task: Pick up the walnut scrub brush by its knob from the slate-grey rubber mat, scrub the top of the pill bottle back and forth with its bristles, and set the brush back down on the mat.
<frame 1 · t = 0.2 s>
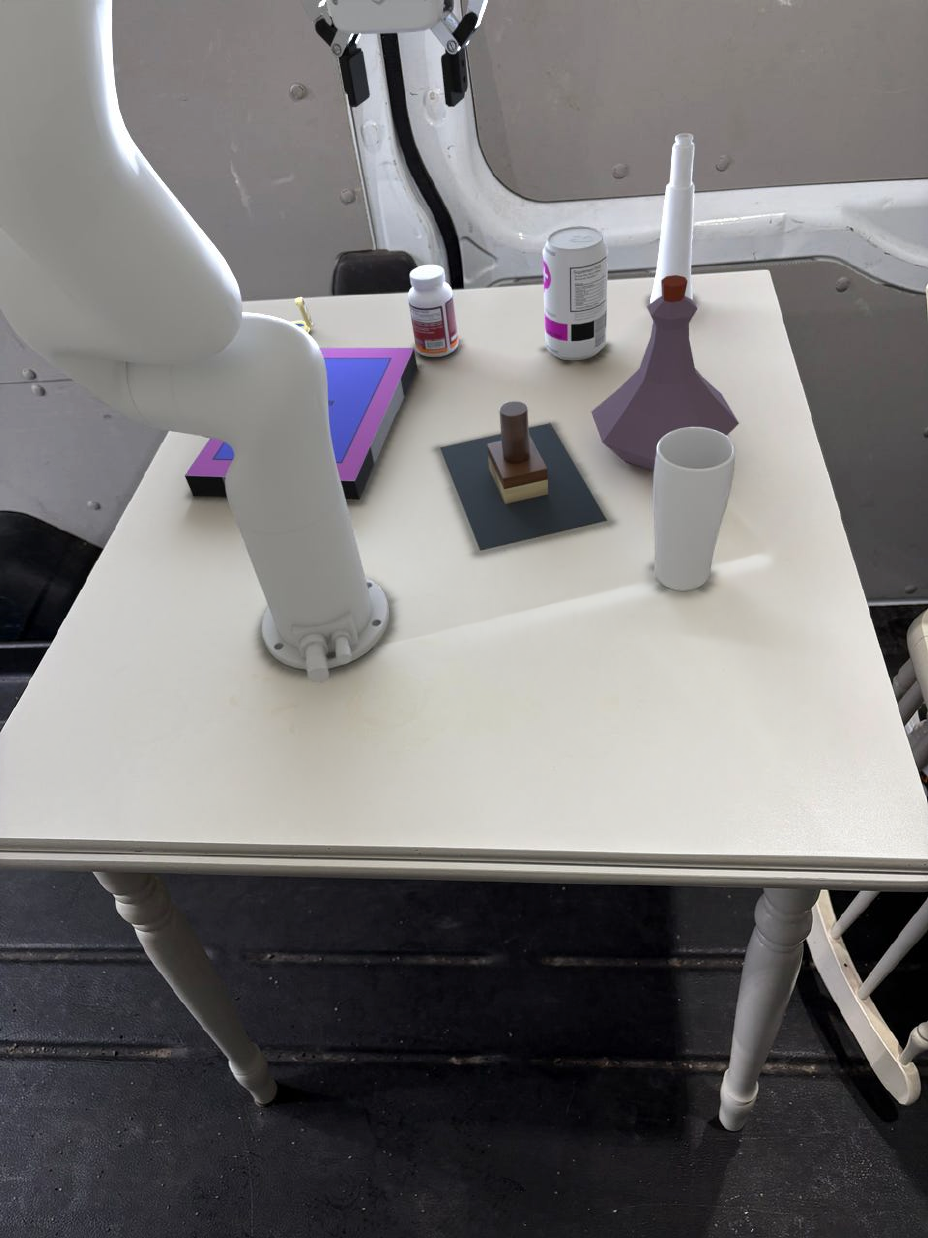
hand: (407, 102, 77), 37 cm above the table, tool pointing down, fingers open, 9 cm apart
cosmetic bottle: (671, 303, 122), on the table
mat: (518, 484, 95), on the table
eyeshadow: (297, 332, 128), on the table
pill bottle: (437, 349, 120), on the table
drinking glass: (680, 576, 83), on the table
brush: (518, 481, 95), resting on mat
supplement can: (575, 348, 116), on the table
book: (313, 428, 108), on the table
flask: (660, 450, 97), on the table
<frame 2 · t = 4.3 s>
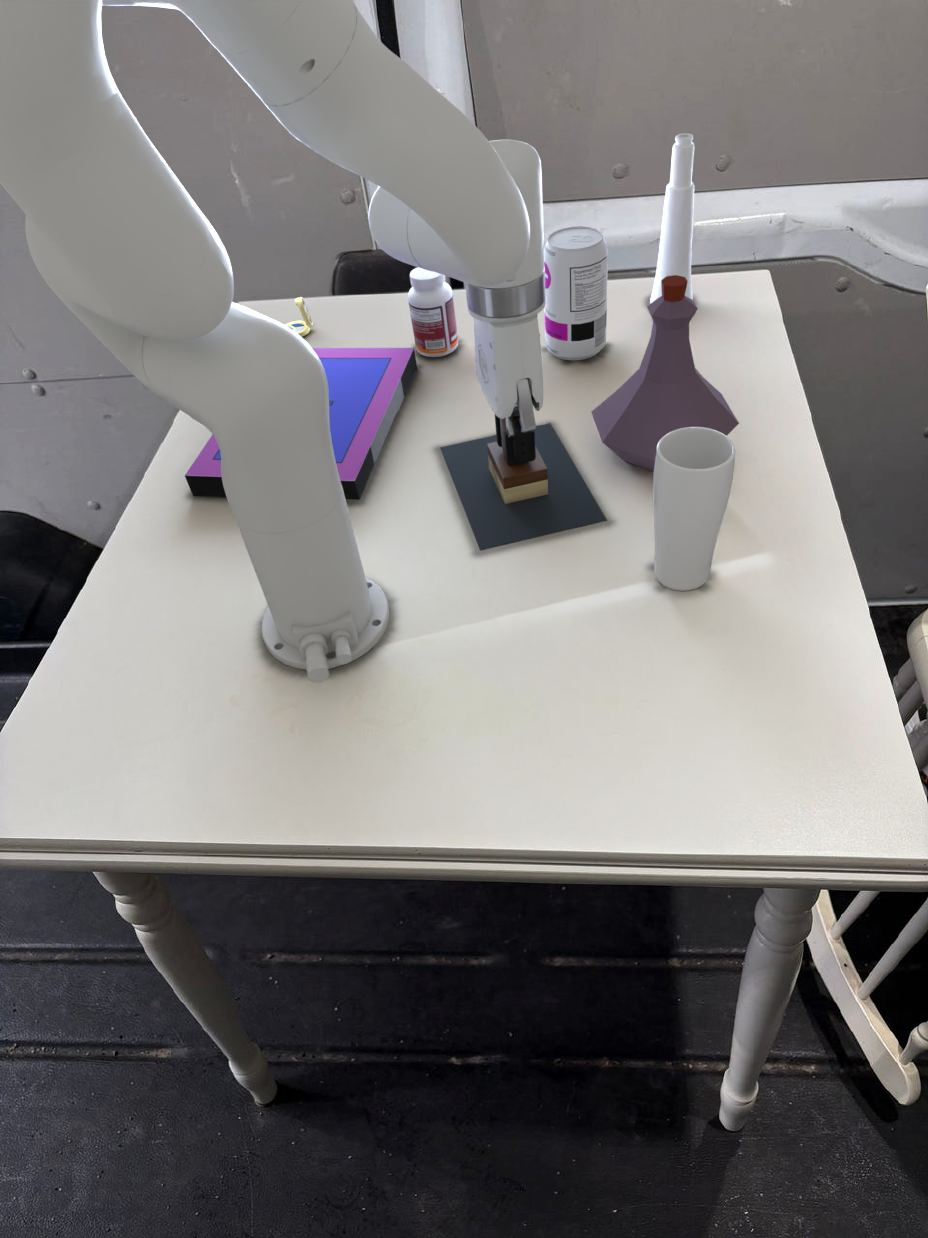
hand: (516, 451, 92), 5 cm above the table, tool pointing down, fingers closed on brush, 3 cm apart
brush: (518, 481, 95), resting on mat, touching gripper
everything else where it was.
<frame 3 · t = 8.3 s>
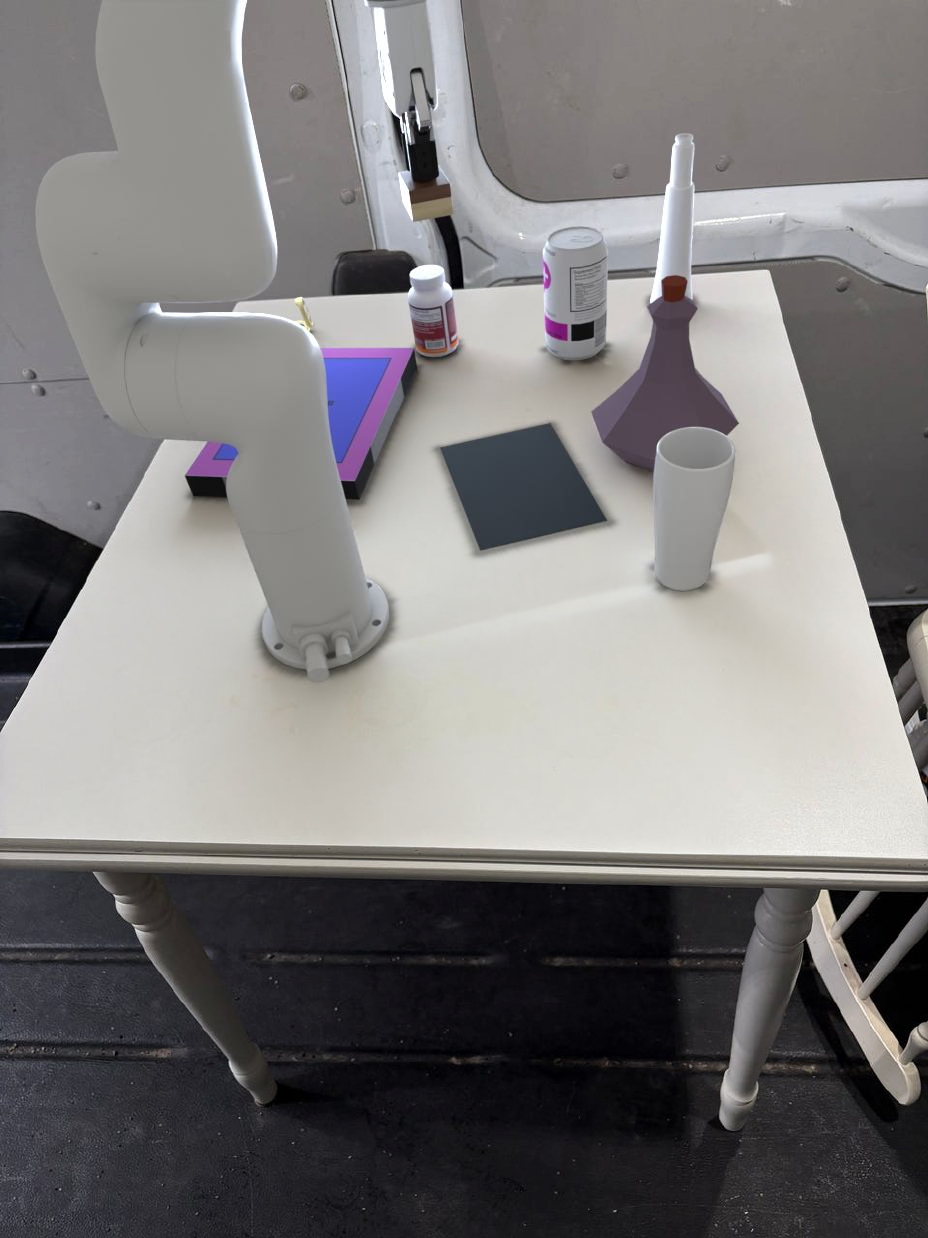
hand: (422, 172, 99), 25 cm above the table, tool pointing down, fingers closed on brush, 3 cm apart
brush: (427, 207, 102), point 21 cm above the table, touching gripper
everything else where it was.
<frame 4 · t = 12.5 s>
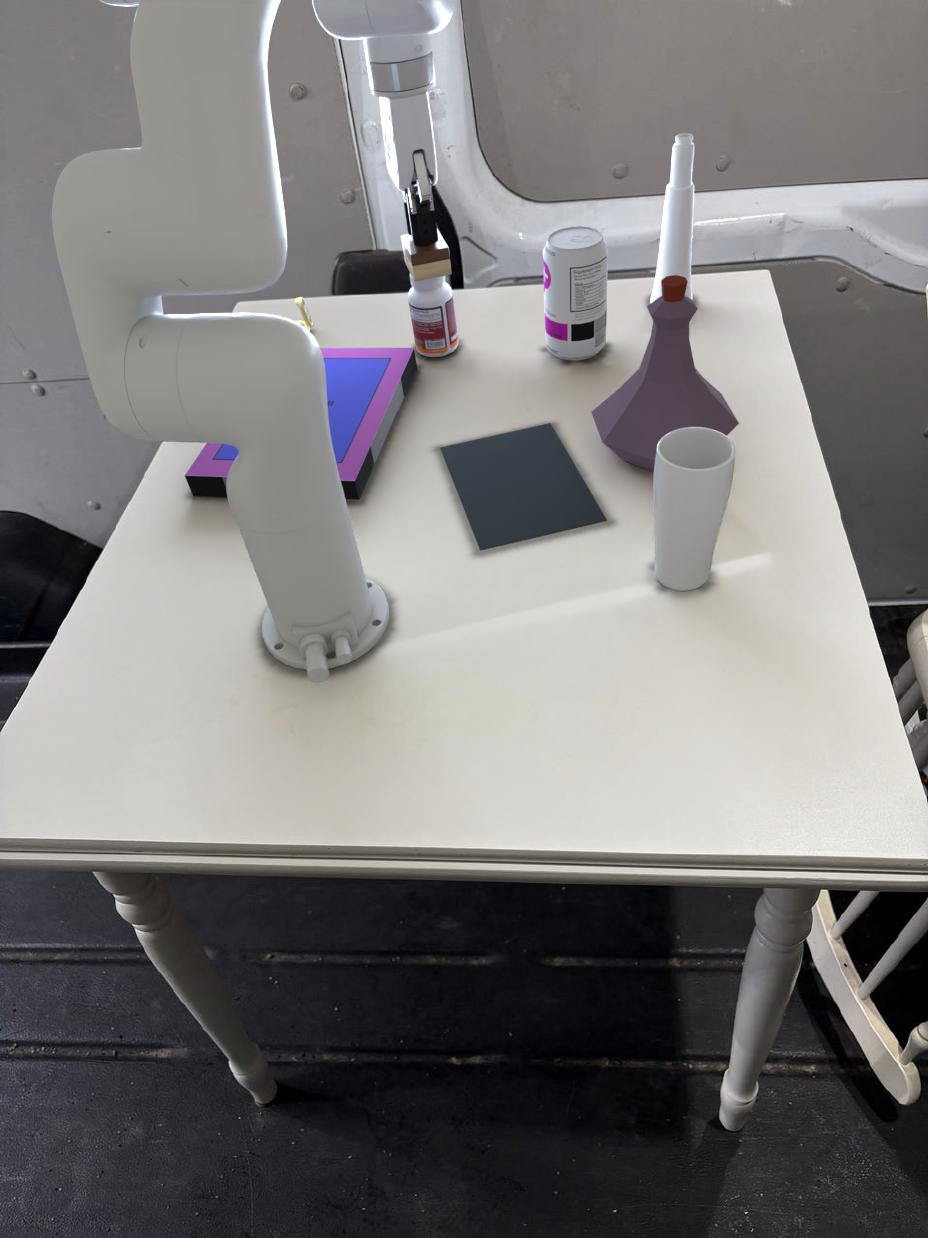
hand: (423, 236, 108), 16 cm above the table, tool pointing down, fingers closed on brush, 3 cm apart
brush: (427, 267, 111), point 12 cm above the table, touching gripper
everything else where it was.
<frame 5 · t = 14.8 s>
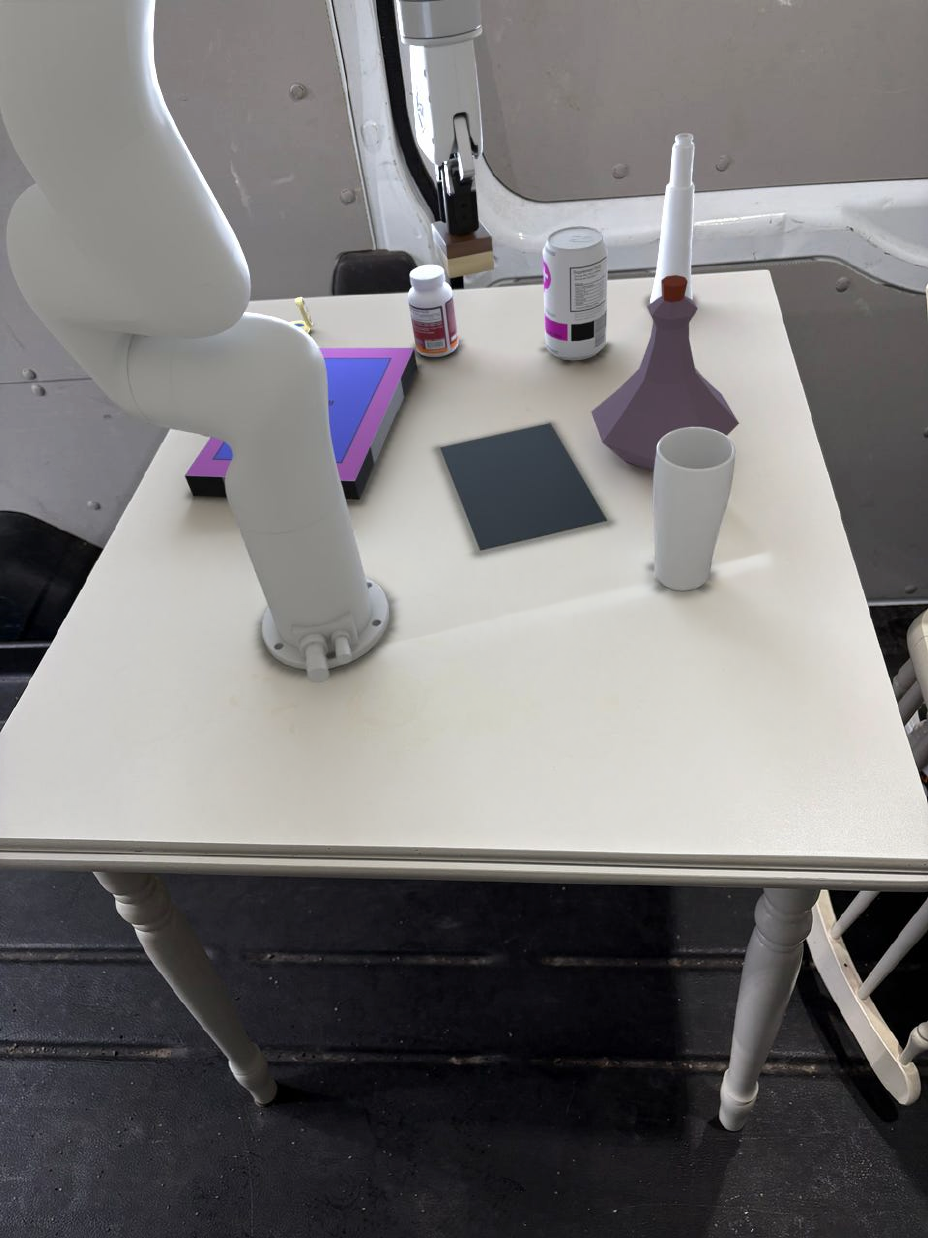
hand: (459, 224, 89), 24 cm above the table, tool pointing down, fingers closed on brush, 3 cm apart
brush: (464, 261, 92), point 20 cm above the table, touching gripper
everything else where it was.
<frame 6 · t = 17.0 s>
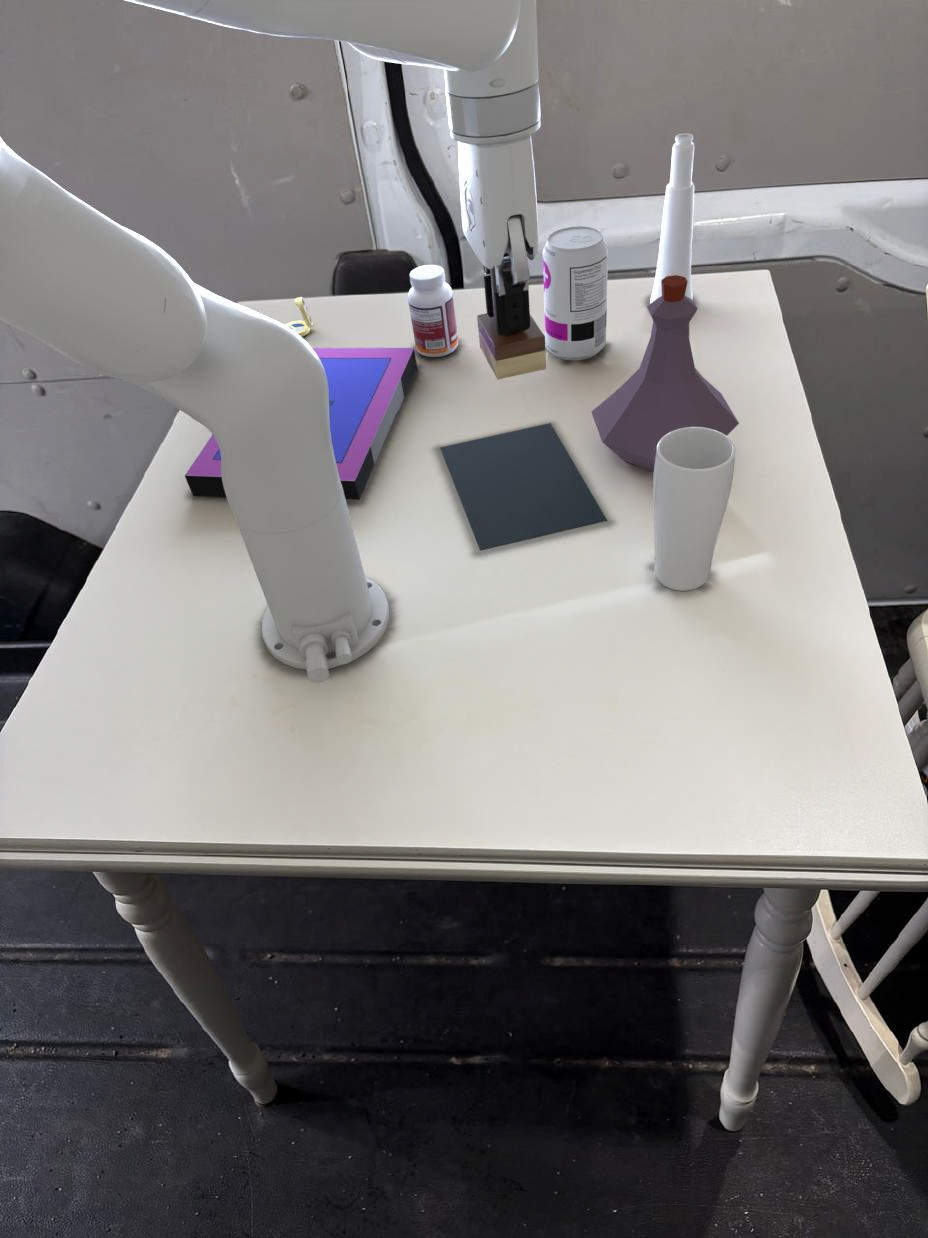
hand: (508, 320, 81), 20 cm above the table, tool pointing down, fingers closed on brush, 3 cm apart
brush: (512, 357, 84), point 16 cm above the table, touching gripper
everything else where it was.
when the fingers open (4 cm above the table, at t = 20.5 s): brush stays where it is, resting on mat.
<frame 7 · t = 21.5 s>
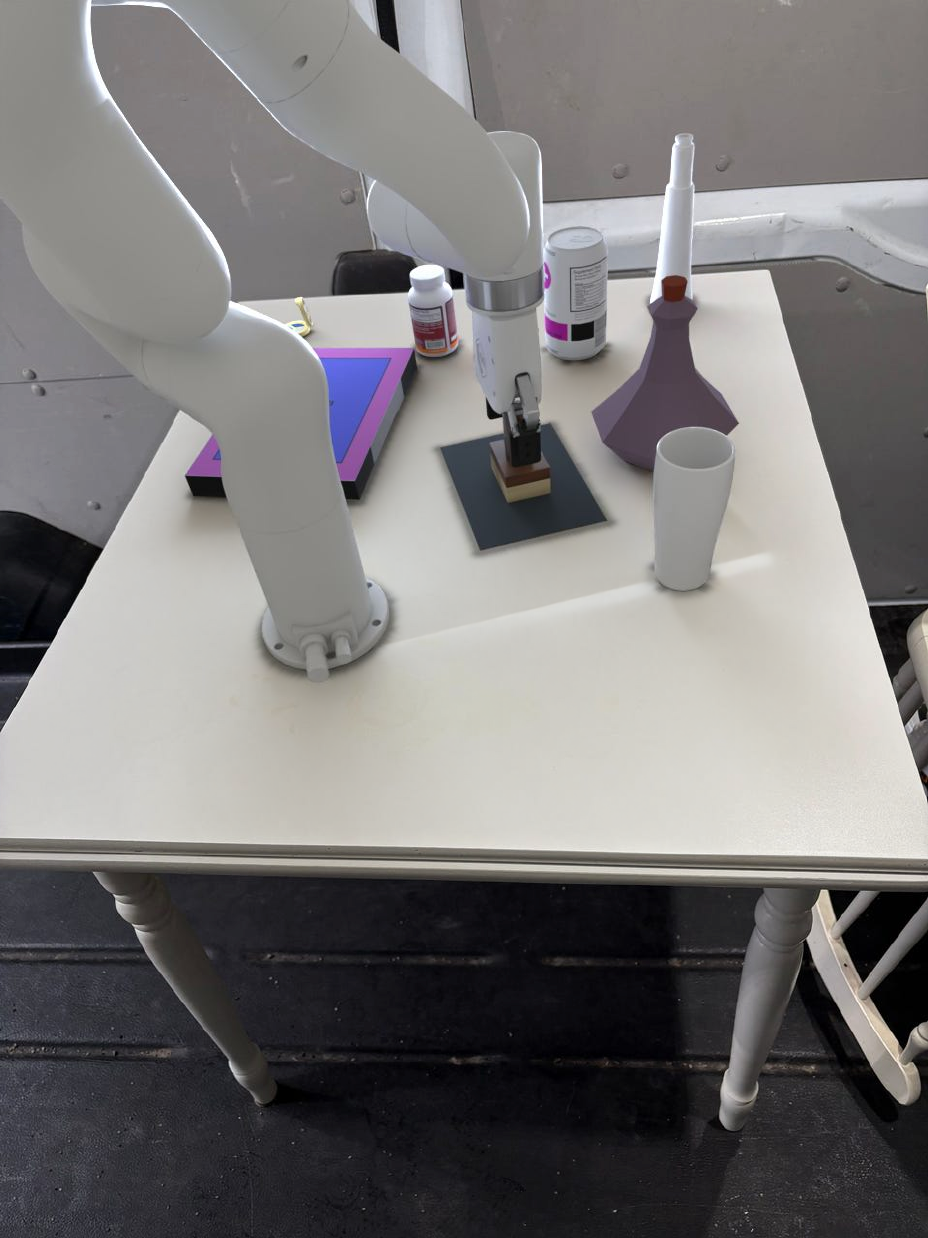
hand: (513, 438, 91), 6 cm above the table, tool pointing down, fingers open, 9 cm apart
brush: (520, 480, 95), resting on mat
everything else where it was.
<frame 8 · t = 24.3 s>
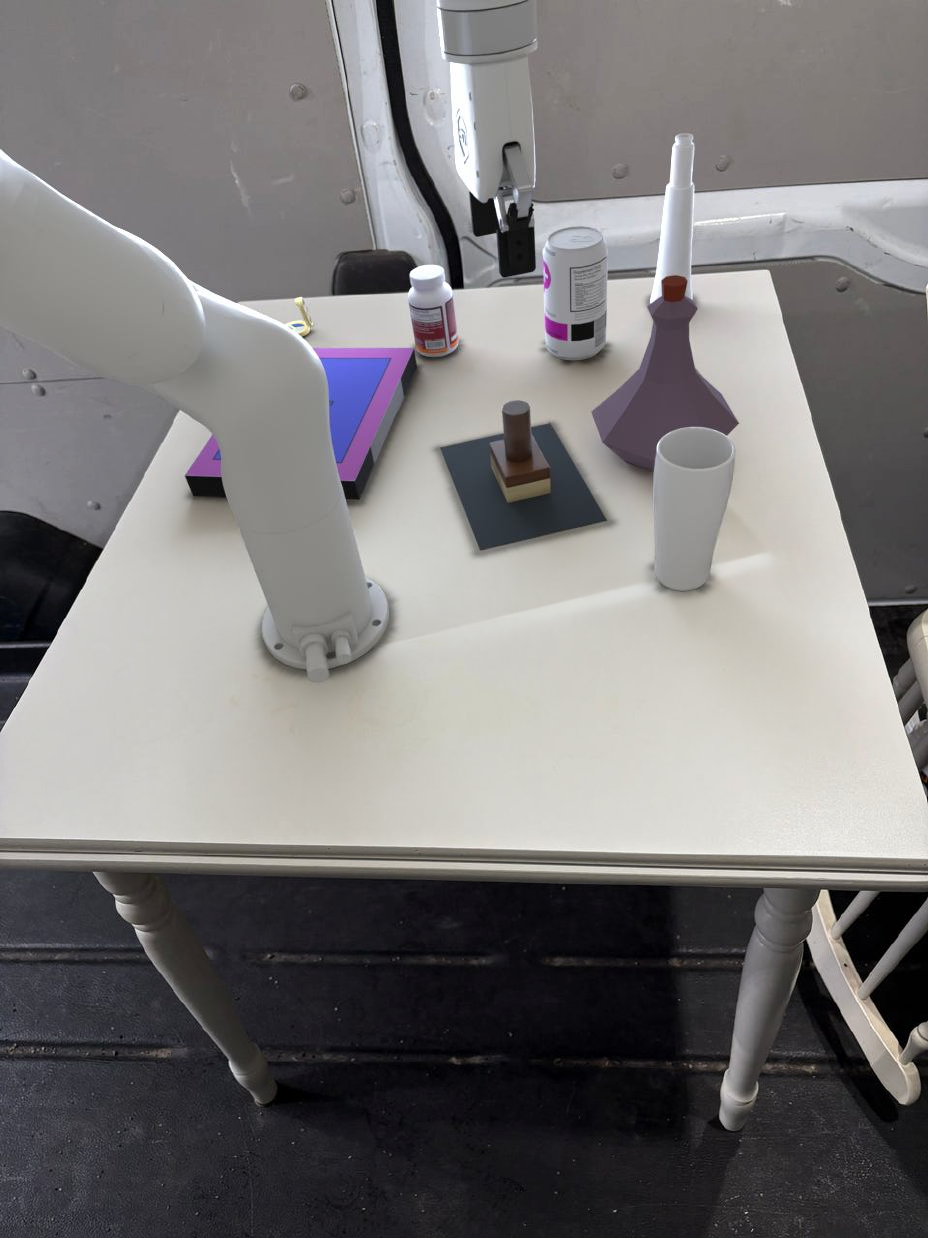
hand: (503, 252, 77), 26 cm above the table, tool pointing down, fingers open, 9 cm apart
nothing on the table moved.
at the end: brush inside the target area on the mat (0.3 cm from its centre), point 0.4 cm above the mat's base; pill bottle tilted 0°; pill bottle moved 0.2 cm from its start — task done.
